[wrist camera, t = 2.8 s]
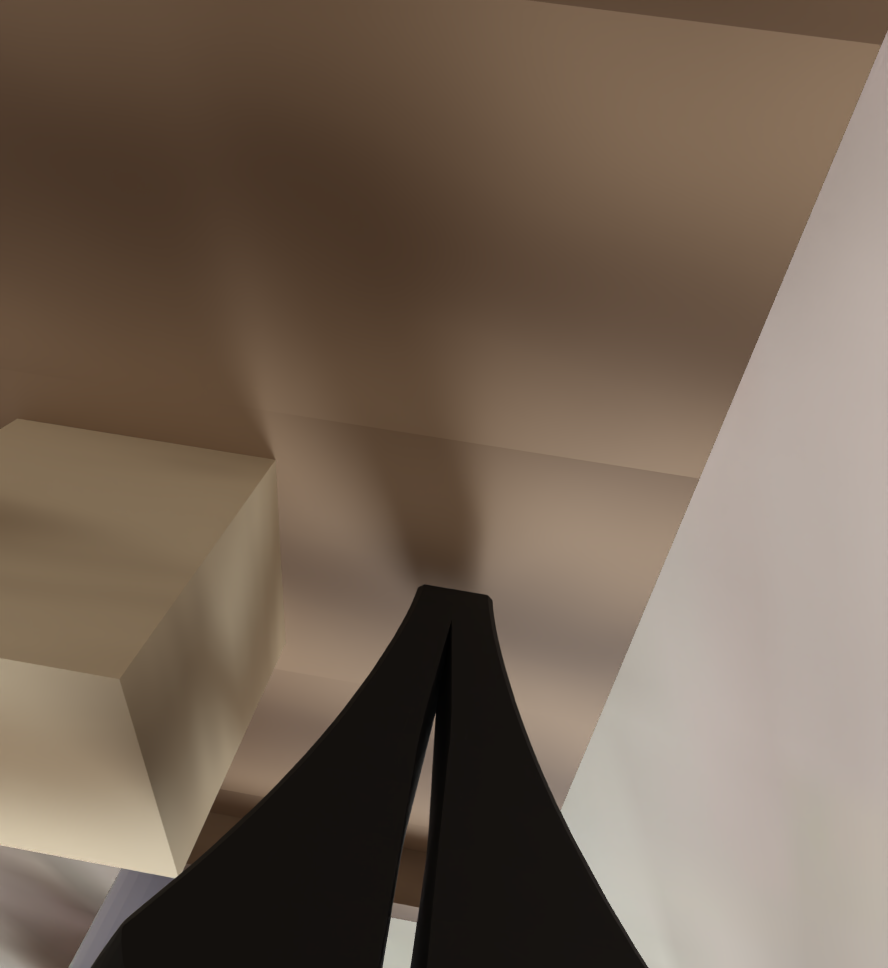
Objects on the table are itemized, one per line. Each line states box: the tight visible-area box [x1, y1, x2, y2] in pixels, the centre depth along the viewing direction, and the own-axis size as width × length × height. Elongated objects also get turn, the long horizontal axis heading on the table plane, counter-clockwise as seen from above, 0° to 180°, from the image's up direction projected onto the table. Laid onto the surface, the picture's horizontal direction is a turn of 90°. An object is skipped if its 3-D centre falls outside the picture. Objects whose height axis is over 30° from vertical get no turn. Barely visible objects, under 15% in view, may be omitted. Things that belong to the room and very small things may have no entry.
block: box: [0, 419, 286, 878], centre depth 10 cm, size 5×5×5 cm
